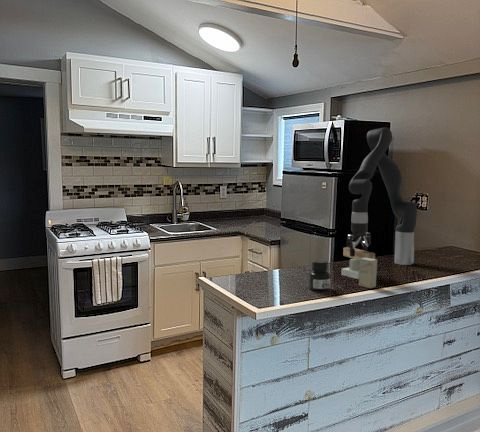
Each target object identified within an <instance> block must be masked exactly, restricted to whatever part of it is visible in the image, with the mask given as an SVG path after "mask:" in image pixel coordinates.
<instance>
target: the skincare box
mask: <svg viewBox="0 0 480 432" xmlns="http://www.w3.org/2000/svg"><path fill="white" fill-rule="evenodd" d="M377 269H378V259H376V258H375V259H372V258H366V257H365V258H360V271H359V279H358V287H363V288H367V289H372V288H376V287H377V286H376V285H377V272H378V270H377Z"/></svg>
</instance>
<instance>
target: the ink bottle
mask: <svg viewBox="0 0 480 432" xmlns="http://www.w3.org/2000/svg"><path fill="white" fill-rule="evenodd" d="M328 268H329V261H328V260H326V259H312V260H311V271H310V272H308V288H309V290H312V291H315V292H327V291H329V290H330V289H331V274H330V272H329V271H328Z"/></svg>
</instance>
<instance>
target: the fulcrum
mask: <svg viewBox="0 0 480 432" xmlns="http://www.w3.org/2000/svg"><path fill="white" fill-rule="evenodd" d="M348 262H349V263H348V265H349V266H348V267H343V268H341V270H340V271H341V273H340V274H341V276H344V277H348V278H352V279H356V280H359V271H360V260H356V259H353V258H350V259H349V261H348Z"/></svg>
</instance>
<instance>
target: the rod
mask: <svg viewBox="0 0 480 432" xmlns="http://www.w3.org/2000/svg"><path fill="white" fill-rule="evenodd" d="M354 249H355V256H354V257H352V256H350V248H348V247H343V248H342V250H343V252H342V253H343V254H342V256H343V257H347V258H350V259H356V260H360V258H365V257H366V258H372V259H376V253H374V252H370V251H368V250H367V251H364V250H363V249H359V248H356V247H355V248H354Z"/></svg>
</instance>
